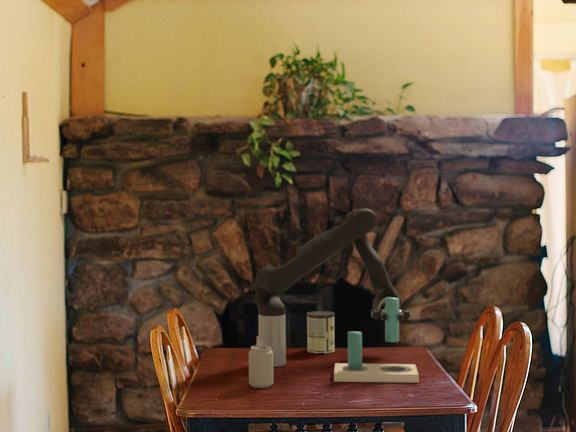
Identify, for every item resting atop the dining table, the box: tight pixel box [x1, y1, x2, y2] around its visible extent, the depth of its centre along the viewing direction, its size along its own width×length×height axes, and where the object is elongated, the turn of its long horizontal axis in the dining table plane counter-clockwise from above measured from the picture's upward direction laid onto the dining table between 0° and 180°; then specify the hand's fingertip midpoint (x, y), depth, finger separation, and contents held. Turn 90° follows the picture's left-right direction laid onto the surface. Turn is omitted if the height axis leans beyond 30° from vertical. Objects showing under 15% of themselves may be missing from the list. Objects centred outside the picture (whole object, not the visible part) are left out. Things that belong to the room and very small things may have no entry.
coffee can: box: [306, 310, 335, 354], centre depth 285 cm, size 10×10×14 cm
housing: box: [333, 362, 420, 384], centre depth 245 cm, size 14×26×3 cm, turn 85°
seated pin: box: [347, 330, 363, 370], centre depth 245 cm, size 4×4×14 cm
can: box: [248, 344, 274, 389], centre depth 234 cm, size 8×8×12 cm
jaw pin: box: [384, 297, 400, 343], centre depth 252 cm, size 4×4×14 cm
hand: (392, 318), depth 249 cm, fingers closed on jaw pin, 4 cm apart
